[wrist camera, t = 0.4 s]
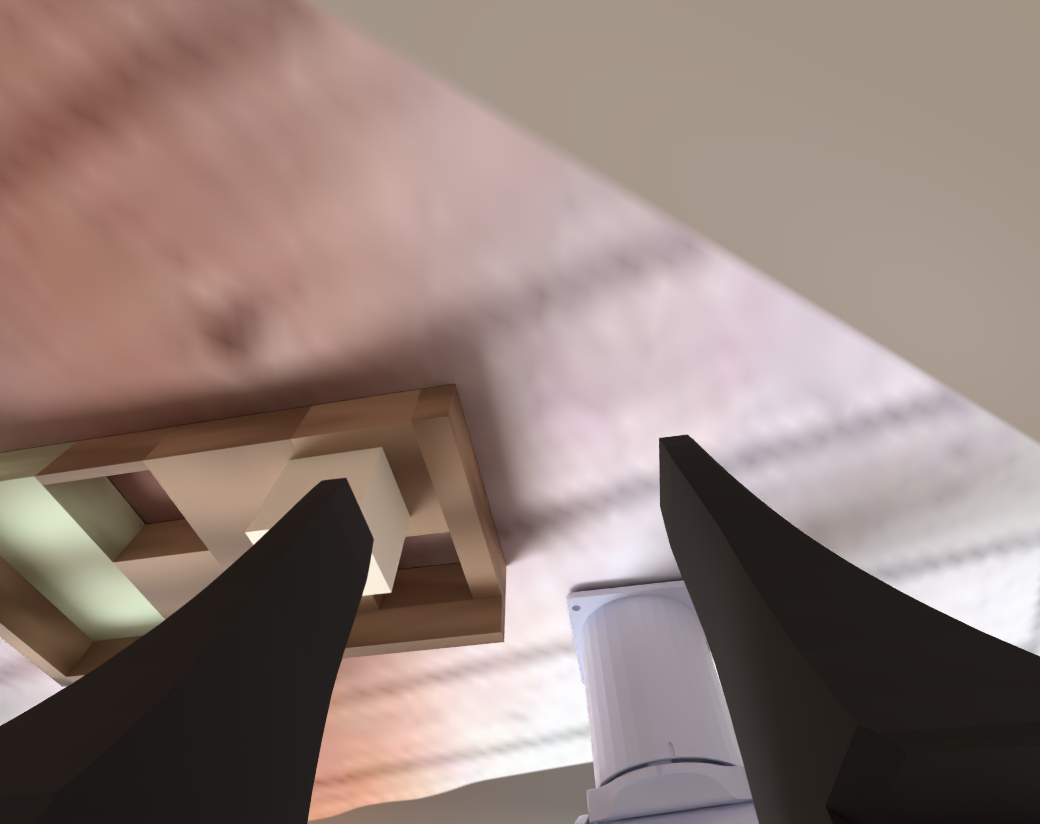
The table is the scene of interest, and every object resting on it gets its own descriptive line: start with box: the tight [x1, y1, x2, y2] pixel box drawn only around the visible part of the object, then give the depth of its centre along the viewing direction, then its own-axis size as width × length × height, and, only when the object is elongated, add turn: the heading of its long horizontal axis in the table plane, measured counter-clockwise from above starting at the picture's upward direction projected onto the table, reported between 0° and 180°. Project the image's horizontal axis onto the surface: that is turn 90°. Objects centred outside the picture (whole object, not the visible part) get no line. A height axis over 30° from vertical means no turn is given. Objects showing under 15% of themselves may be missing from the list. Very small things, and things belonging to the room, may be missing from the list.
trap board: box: [0, 384, 506, 687], centre depth 24 cm, size 12×24×4 cm, turn 100°
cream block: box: [245, 447, 410, 596], centre depth 20 cm, size 4×4×4 cm
